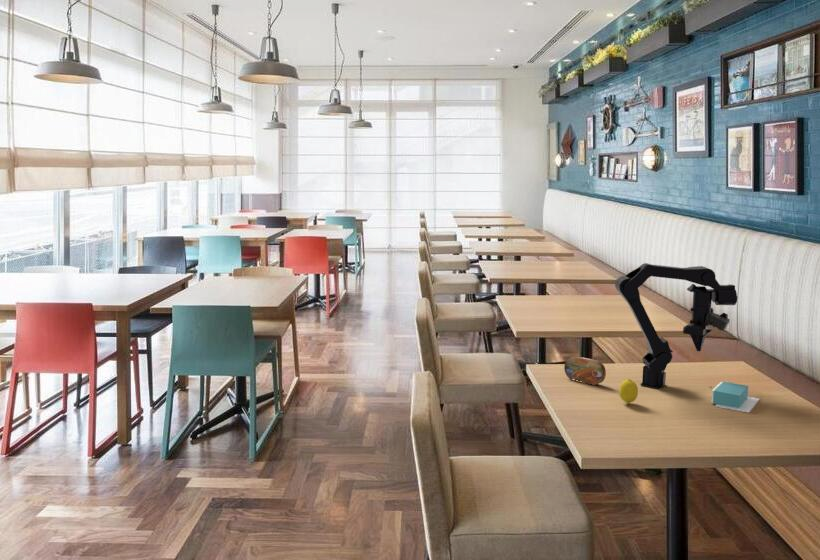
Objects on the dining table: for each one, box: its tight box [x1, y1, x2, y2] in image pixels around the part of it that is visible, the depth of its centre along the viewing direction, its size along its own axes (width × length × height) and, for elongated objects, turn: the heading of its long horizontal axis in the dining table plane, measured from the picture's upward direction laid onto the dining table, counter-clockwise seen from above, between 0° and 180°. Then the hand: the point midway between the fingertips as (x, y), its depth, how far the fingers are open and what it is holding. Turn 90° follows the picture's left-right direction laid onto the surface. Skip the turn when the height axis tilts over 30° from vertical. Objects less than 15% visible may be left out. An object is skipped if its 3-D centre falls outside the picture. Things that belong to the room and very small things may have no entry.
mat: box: [715, 396, 760, 414], centre depth 223 cm, size 10×15×1 cm, turn 144°
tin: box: [563, 355, 607, 386], centre depth 244 cm, size 15×3×8 cm, turn 44°
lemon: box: [618, 378, 639, 405], centre depth 221 cm, size 6×6×8 cm
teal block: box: [710, 381, 749, 408], centre depth 224 cm, size 4×12×8 cm
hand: (698, 351), depth 238 cm, fingers closed
